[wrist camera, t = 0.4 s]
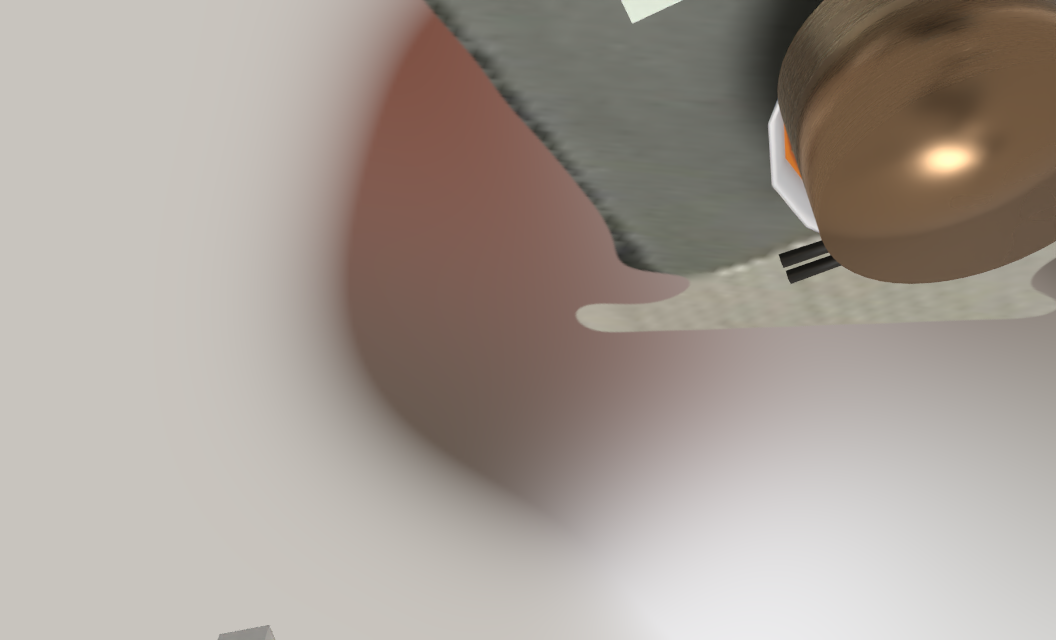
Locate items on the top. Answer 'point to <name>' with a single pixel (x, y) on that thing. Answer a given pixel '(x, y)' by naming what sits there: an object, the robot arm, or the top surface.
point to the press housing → (645, 7)
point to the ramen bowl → (794, 201)
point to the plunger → (925, 132)
